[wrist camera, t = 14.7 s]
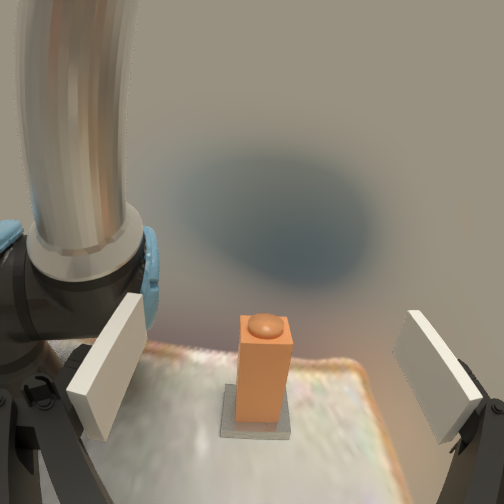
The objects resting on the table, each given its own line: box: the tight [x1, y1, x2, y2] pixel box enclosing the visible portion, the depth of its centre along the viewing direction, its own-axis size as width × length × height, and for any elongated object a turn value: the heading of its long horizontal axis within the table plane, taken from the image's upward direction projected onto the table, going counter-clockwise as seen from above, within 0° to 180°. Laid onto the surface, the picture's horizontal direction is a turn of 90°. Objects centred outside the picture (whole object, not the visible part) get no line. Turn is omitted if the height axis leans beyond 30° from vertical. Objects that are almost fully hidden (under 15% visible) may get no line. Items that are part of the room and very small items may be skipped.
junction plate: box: [221, 384, 291, 439], centre depth 35 cm, size 8×8×7 cm
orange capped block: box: [235, 313, 293, 422], centre depth 33 cm, size 5×5×13 cm
